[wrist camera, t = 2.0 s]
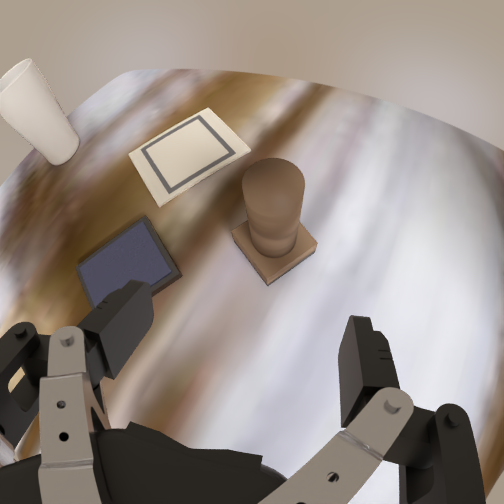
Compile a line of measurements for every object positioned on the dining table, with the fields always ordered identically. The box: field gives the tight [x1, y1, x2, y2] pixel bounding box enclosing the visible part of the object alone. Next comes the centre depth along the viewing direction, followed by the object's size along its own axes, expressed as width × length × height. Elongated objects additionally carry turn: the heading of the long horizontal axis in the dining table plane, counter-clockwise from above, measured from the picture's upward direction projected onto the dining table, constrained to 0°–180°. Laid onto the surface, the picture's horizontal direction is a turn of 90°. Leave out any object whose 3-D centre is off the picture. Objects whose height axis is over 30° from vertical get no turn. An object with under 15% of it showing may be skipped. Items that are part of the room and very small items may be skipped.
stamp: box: [231, 158, 318, 286], centre depth 21 cm, size 5×5×10 cm
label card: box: [128, 108, 251, 208], centre depth 30 cm, size 11×9×1 cm
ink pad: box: [75, 216, 182, 310], centre depth 26 cm, size 9×7×1 cm
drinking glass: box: [0, 58, 79, 165], centre depth 26 cm, size 7×7×15 cm
